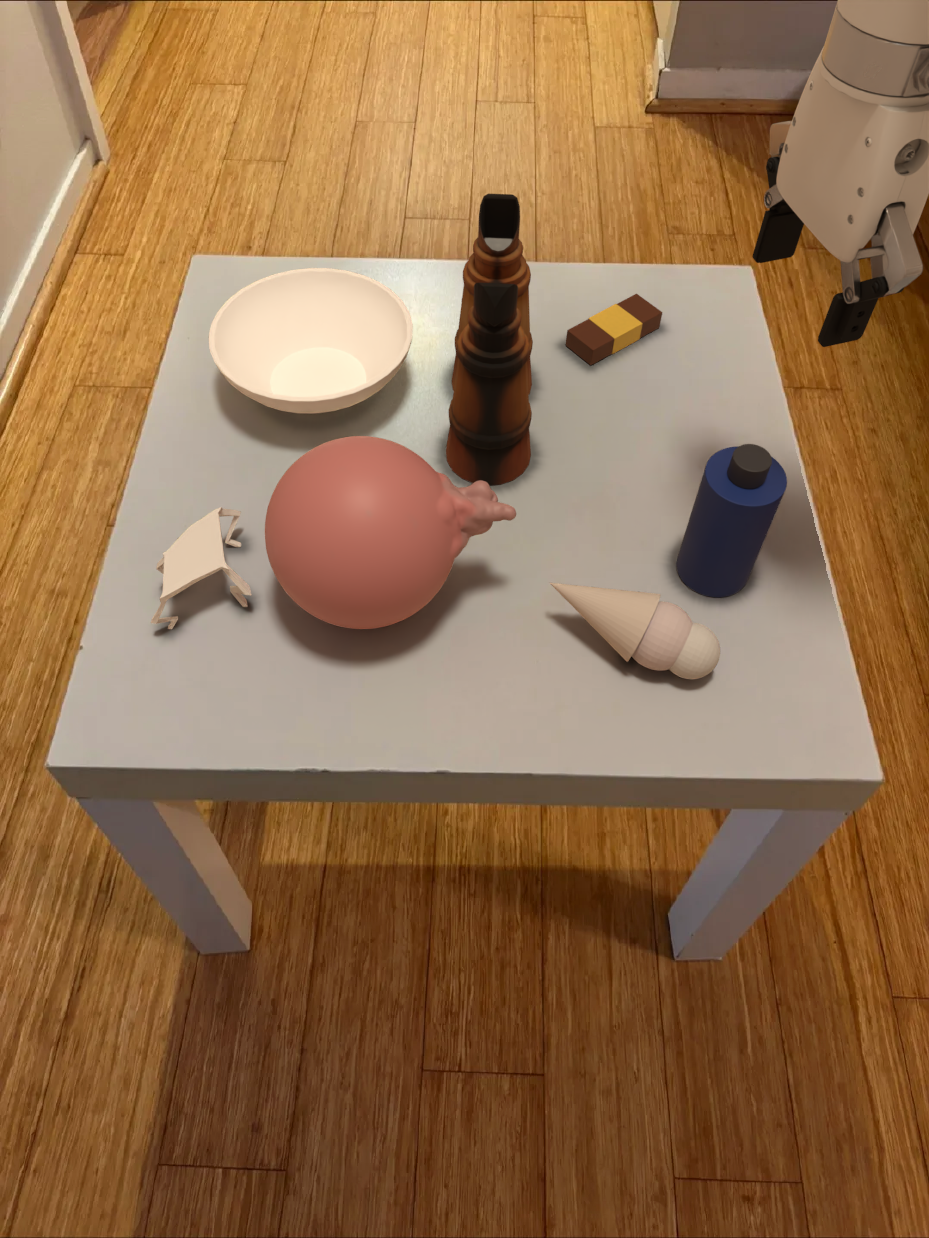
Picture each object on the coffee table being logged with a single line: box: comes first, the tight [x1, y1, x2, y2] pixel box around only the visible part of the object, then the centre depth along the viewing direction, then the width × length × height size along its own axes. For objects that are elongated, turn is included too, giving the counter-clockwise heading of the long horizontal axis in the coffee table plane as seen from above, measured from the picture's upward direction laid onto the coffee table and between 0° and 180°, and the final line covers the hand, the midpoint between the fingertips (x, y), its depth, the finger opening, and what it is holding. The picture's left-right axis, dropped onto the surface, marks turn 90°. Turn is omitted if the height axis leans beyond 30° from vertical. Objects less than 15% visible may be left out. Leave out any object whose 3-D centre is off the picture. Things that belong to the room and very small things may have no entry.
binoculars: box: [445, 193, 534, 486], centre depth 89 cm, size 18×8×20 cm, turn 177°
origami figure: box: [150, 506, 252, 630], centre depth 83 cm, size 12×8×5 cm
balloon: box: [264, 435, 517, 630], centre depth 79 cm, size 15×20×15 cm
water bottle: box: [675, 443, 788, 598], centre depth 81 cm, size 6×6×14 cm
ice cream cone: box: [549, 582, 721, 680], centre depth 80 cm, size 6×6×15 cm
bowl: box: [208, 267, 414, 414], centre depth 97 cm, size 20×20×7 cm
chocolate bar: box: [565, 293, 663, 366], centre depth 104 cm, size 10×4×2 cm, turn 128°
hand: (804, 298), depth 70 cm, fingers open, 9 cm apart
